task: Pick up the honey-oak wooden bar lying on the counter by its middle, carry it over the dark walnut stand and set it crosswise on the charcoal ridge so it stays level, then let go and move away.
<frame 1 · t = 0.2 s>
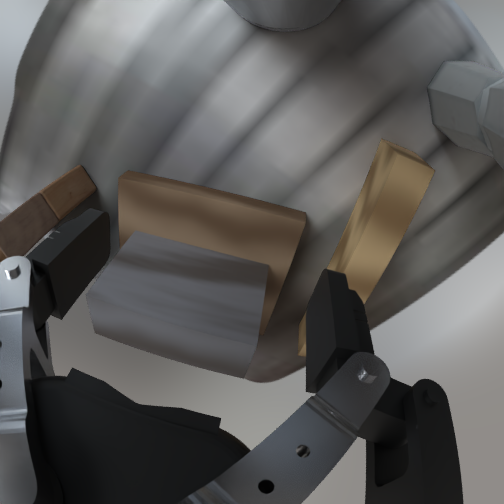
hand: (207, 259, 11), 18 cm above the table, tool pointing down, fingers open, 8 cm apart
wooden block: (66, 196, 31), on the table
coffee maker: (470, 94, 19), on the table
oak bar: (351, 251, 31), on the table
ridge stand: (201, 255, 33), on the table
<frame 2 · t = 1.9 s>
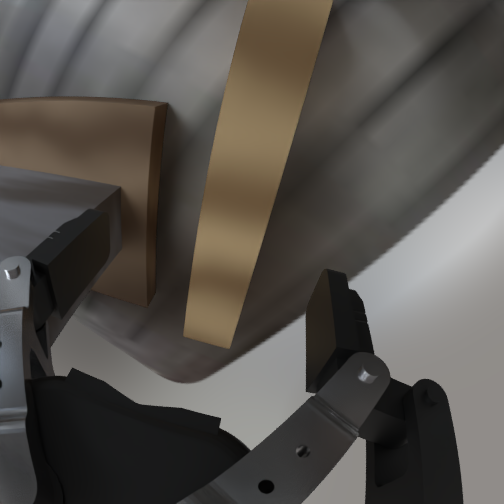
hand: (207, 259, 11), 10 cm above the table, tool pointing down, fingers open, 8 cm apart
oak bar: (252, 162, 19), on the table
ridge stand: (62, 191, 21), on the table
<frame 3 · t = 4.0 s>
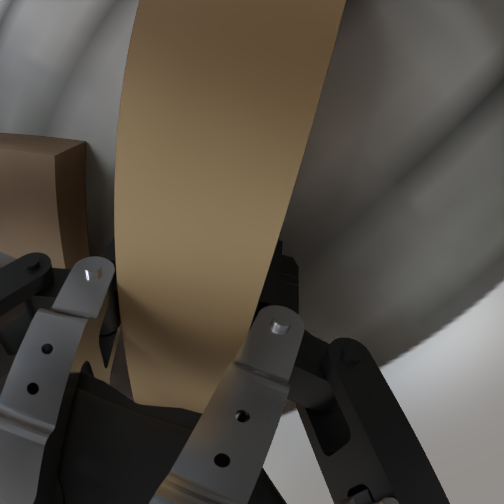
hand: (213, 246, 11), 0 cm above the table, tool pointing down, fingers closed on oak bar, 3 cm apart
oak bar: (217, 236, 12), on the table, touching gripper
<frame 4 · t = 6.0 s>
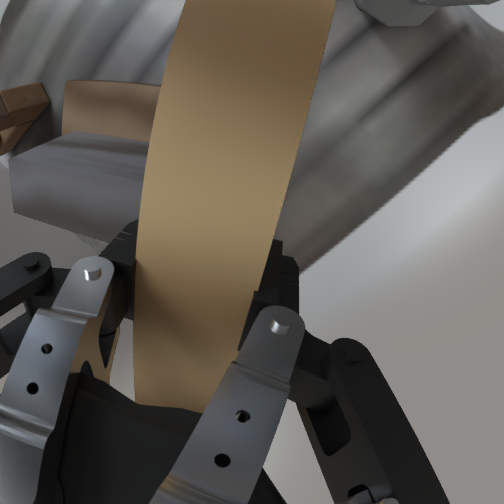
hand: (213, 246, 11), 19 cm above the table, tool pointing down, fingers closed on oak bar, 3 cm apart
wooden block: (25, 117, 28), on the table
oak bar: (220, 238, 13), point 18 cm above the table, tilted 9°, touching gripper
ridge stand: (135, 157, 29), on the table
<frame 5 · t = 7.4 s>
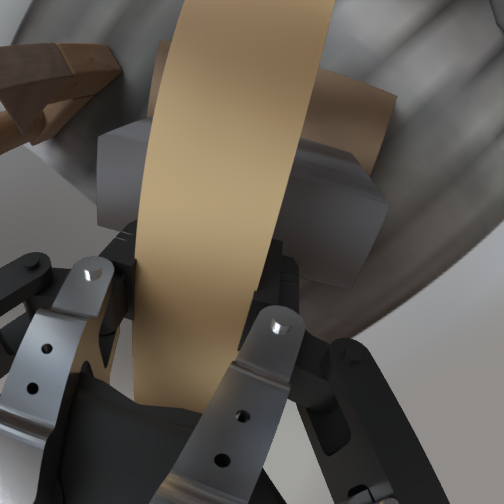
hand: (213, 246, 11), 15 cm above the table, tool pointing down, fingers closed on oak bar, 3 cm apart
wooden block: (78, 92, 22), on the table
oak bar: (219, 239, 13), point 13 cm above the table, tilted 9°, touching gripper
ridge stand: (256, 152, 24), on the table
when the fingers open (13 cm above the table, at t = 8.4 s): oak bar stays where it is, resting on ridge stand.
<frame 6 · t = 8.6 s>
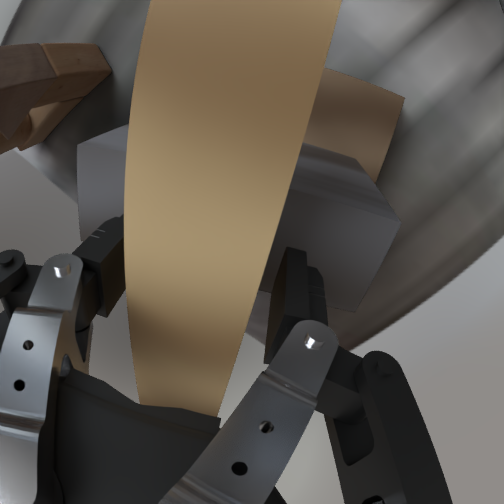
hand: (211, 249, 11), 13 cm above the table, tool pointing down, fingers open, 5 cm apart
wooden block: (67, 94, 21), on the table
oak bar: (217, 244, 13), point 12 cm above the table, touching ridge stand
ridge stand: (253, 157, 23), on the table
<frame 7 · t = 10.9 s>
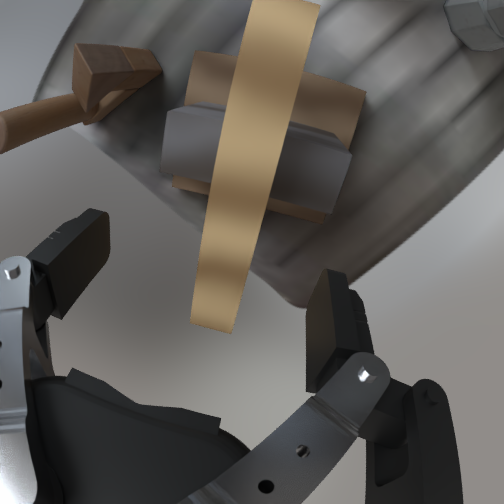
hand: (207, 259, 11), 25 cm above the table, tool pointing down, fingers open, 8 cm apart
wooden block: (123, 85, 30), on the table
coffee maker: (474, 15, 19), on the table
oak bar: (249, 168, 22), point 12 cm above the table, touching ridge stand
ridge stand: (264, 134, 32), on the table
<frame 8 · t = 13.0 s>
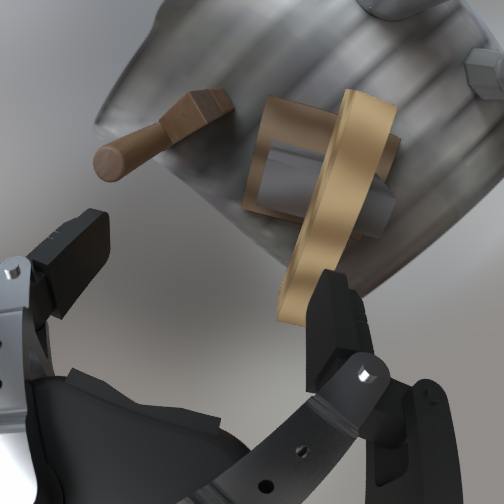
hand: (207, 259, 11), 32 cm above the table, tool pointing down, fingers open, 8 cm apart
wooden block: (195, 116, 38), on the table
coffee maker: (487, 69, 27), on the table
oak bar: (326, 207, 30), point 12 cm above the table, touching ridge stand
ridge stand: (318, 168, 40), on the table
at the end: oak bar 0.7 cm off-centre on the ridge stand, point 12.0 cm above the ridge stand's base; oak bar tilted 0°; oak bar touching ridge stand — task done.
